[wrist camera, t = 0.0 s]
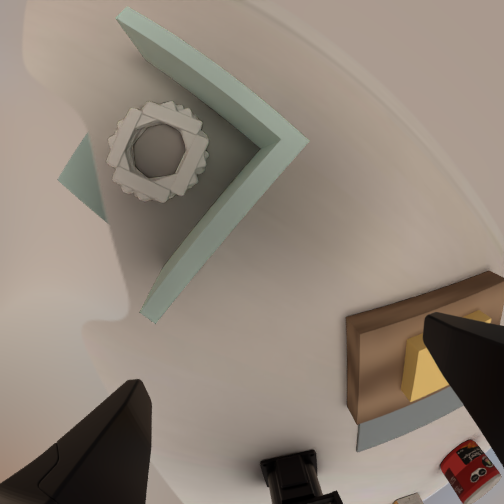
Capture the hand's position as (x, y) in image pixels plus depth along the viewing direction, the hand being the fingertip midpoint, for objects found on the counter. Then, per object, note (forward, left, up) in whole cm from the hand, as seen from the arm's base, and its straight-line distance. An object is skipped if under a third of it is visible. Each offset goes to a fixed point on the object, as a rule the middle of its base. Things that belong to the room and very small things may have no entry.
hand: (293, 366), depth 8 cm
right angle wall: (+7, +5, -15) cm, 17 cm away
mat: (-23, -17, -15) cm, 32 cm away
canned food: (-45, -30, -15) cm, 56 cm away
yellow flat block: (-13, -16, -12) cm, 24 cm away
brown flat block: (-13, -16, -15) cm, 25 cm away
